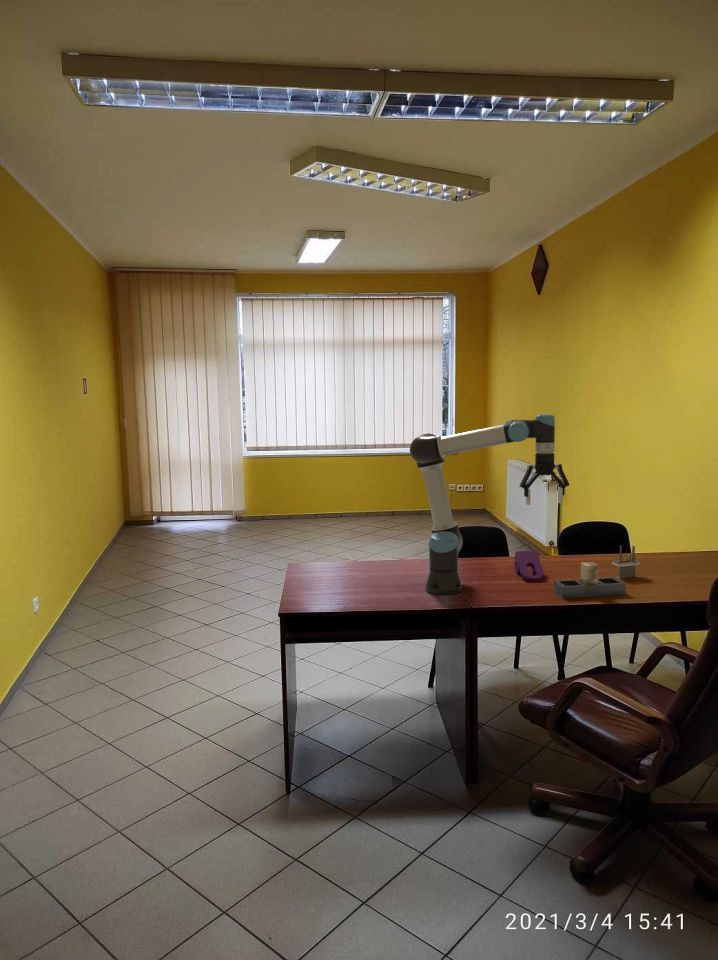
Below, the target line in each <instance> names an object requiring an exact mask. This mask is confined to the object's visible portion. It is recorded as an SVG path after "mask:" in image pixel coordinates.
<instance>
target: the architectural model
mask: <svg viewBox="0 0 718 960" xmlns="http://www.w3.org/2000/svg"><path fill="white" fill-rule="evenodd" d="M622 546H623V545H621V544H620V545H619V559H617V560H613V561H611V564H612V565H614V566H616V567H618V568H617V569H616V578H617V579H619V580H620V579H627V578H634V576H635V577H636V566H638V565H641V561H640V560H637V554H636V555H635V553H636V546H635V545H632V547H631V549H632V552H631V553H629V554H625V555H624V554H623V555H622V548H623V547H622Z"/></svg>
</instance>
